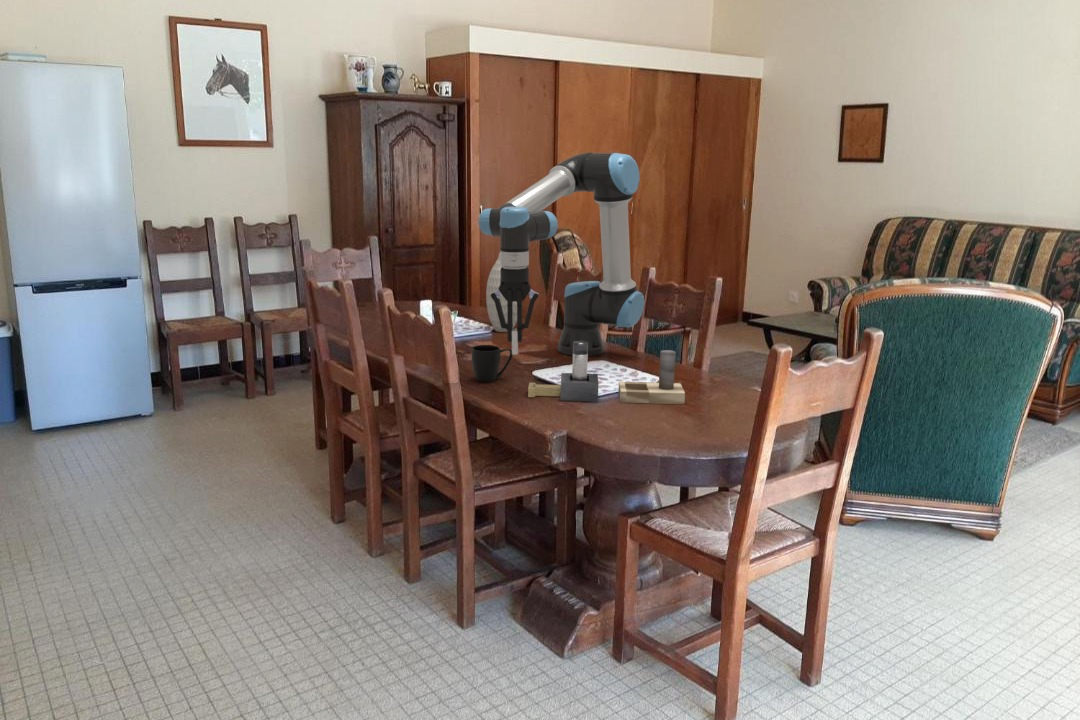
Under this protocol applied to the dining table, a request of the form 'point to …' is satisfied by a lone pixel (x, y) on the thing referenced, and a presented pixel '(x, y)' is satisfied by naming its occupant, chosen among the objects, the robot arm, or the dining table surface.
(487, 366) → the mug
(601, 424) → the dining table surface
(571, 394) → the socket
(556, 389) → the t-shaped block
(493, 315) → the vase
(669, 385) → the rack
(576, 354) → the round peg
